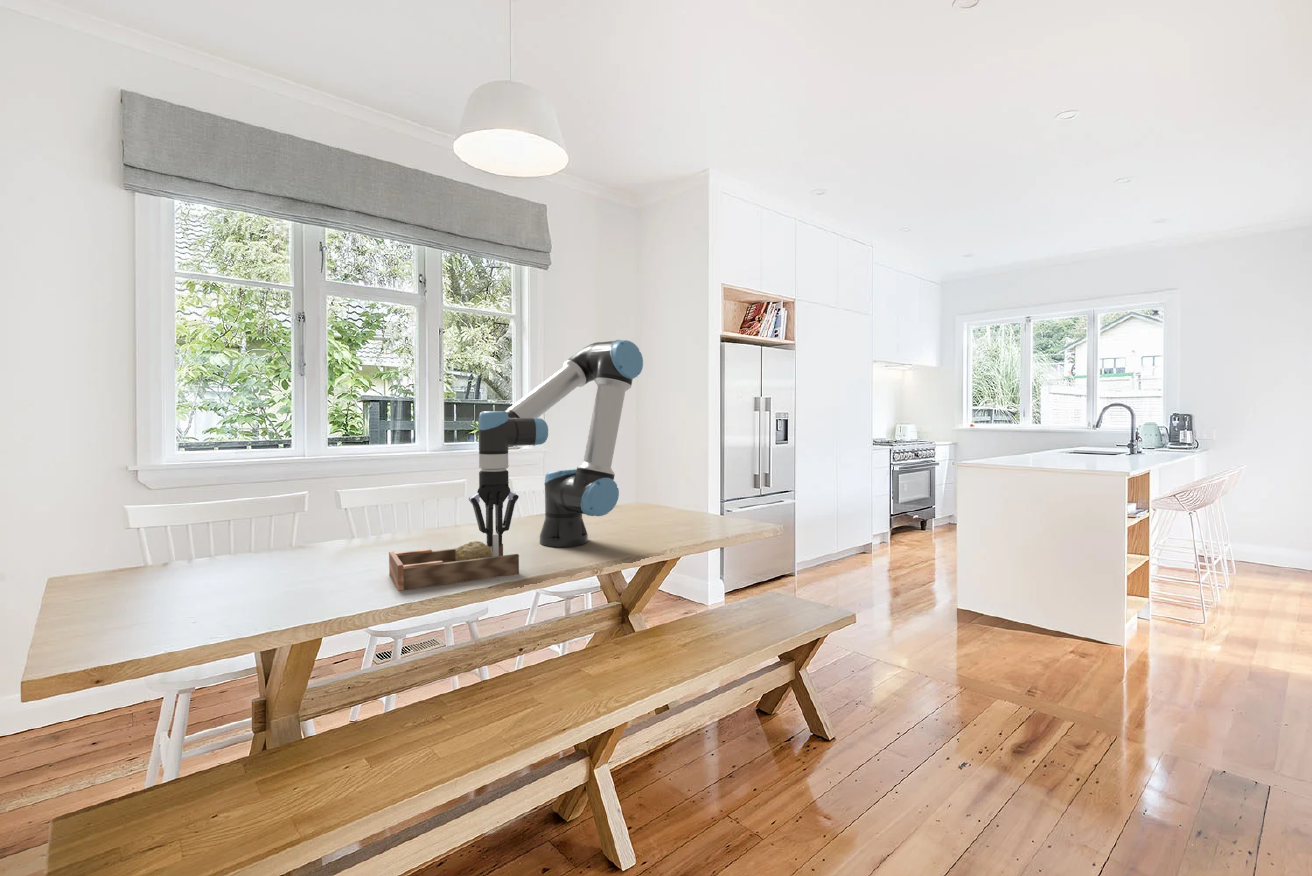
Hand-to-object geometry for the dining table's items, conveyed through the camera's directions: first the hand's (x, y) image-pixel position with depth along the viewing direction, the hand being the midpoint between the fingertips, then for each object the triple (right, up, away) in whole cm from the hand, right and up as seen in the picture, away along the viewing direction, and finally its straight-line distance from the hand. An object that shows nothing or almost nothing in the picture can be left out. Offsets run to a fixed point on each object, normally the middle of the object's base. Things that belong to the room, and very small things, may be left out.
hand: (494, 557), depth 165 cm
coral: (-5, -3, -3) cm, 6 cm away
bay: (-8, -3, -5) cm, 10 cm away
